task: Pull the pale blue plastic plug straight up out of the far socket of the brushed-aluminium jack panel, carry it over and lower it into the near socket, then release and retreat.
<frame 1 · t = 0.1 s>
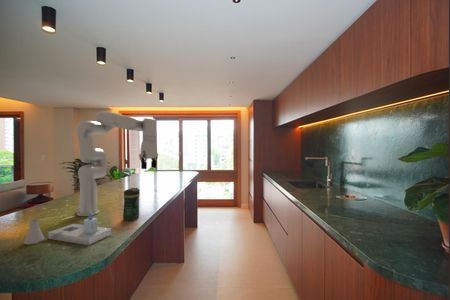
hand: (149, 168, 135), 31 cm above the kitchen island, fingers open, 9 cm apart
coffee jar: (131, 219, 139), on the kitchen island
plug: (90, 238, 109), resting in jack panel
flask: (34, 242, 104), on the kitchen island
jack panel: (80, 236, 110), on the kitchen island
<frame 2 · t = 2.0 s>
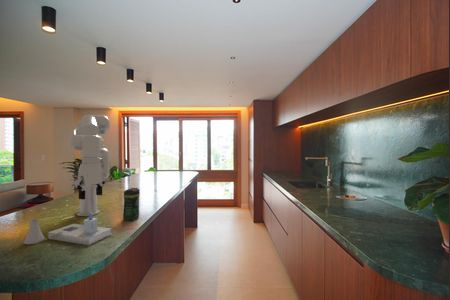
hand: (90, 197, 108), 20 cm above the kitchen island, fingers open, 9 cm apart
nothing on the kitchen island moved.
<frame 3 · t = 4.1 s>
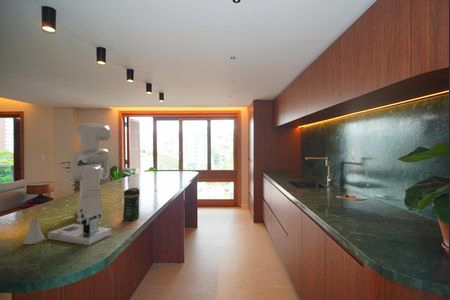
hand: (90, 230, 109), 4 cm above the kitchen island, fingers closed on plug, 4 cm apart
plug: (90, 238, 109), resting in jack panel, touching gripper
everything else where it was.
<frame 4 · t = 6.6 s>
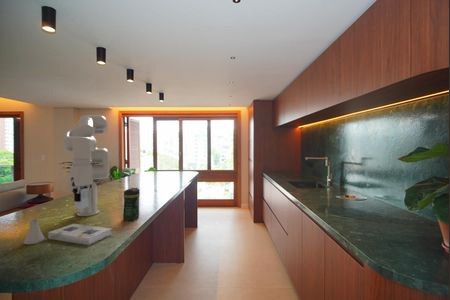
hand: (81, 199, 110), 18 cm above the kitchen island, fingers closed on plug, 4 cm apart
plug: (81, 207, 110), point 14 cm above the kitchen island, touching gripper
everything else where it was.
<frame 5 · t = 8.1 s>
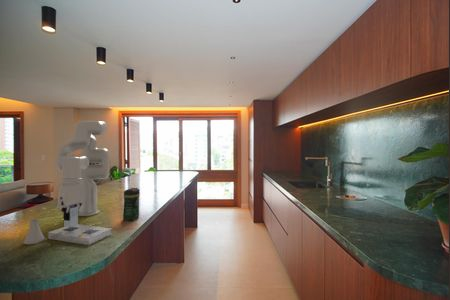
hand: (71, 218, 112), 8 cm above the kitchen island, fingers closed on plug, 4 cm apart
plug: (71, 225, 112), point 5 cm above the kitchen island, touching gripper
everything else where it was.
when the fingers open (4 cm above the kitchen island, at t = 9.2 s): plug stays where it is, resting in jack panel.
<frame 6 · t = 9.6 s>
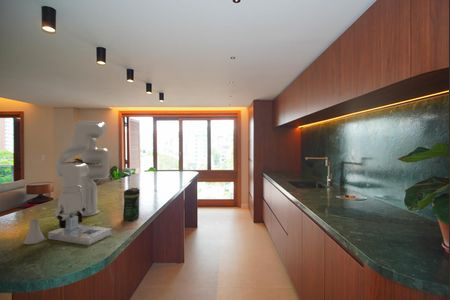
hand: (71, 224, 112), 5 cm above the kitchen island, fingers open, 8 cm apart
plug: (71, 235, 112), resting in jack panel
everything else where it was.
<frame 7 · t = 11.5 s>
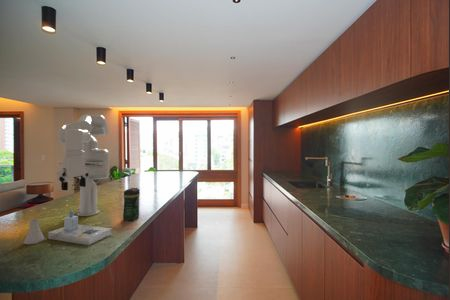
hand: (74, 188, 113), 23 cm above the kitchen island, fingers open, 9 cm apart
nothing on the kitchen island moved.
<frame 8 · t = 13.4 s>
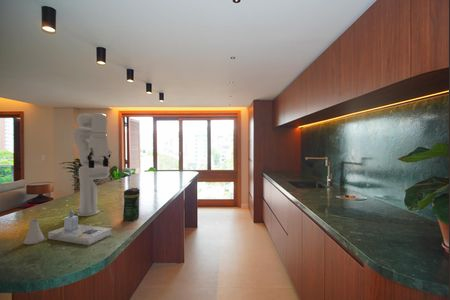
hand: (98, 167, 126), 32 cm above the kitchen island, fingers open, 9 cm apart
nothing on the kitchen island moved.
at the end: plug 0.0 cm from the target spot on the jack panel, point 0.0 cm above the jack panel's base; plug tilted 0°; the gripper is holding nothing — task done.
